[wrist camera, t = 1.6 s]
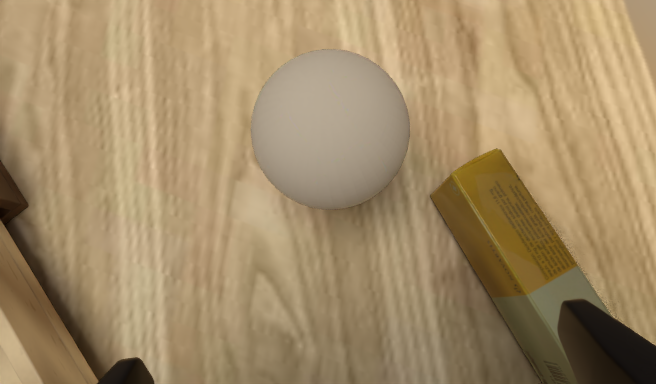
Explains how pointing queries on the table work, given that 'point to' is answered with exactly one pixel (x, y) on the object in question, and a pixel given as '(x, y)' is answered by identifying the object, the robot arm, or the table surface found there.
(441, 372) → the table surface
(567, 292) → the medication box
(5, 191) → the cabinet
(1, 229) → the drawer
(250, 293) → the table surface
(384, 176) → the light bulb
